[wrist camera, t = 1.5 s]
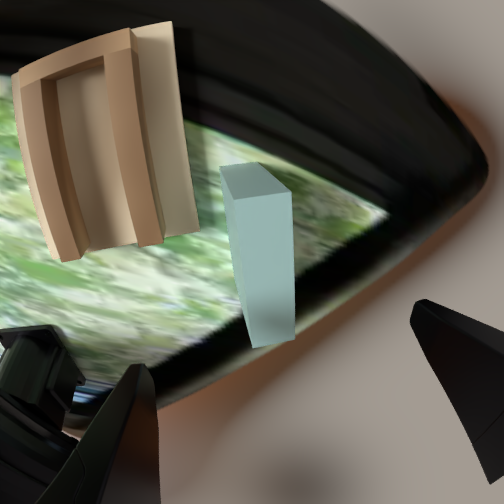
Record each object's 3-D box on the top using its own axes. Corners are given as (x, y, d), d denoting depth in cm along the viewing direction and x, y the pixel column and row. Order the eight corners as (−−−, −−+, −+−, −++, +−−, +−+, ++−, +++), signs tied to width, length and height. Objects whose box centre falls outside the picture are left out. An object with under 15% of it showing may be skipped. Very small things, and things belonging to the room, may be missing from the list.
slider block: (234, 279, 18) (252, 348, 13) (218, 166, 15) (233, 199, 10) (266, 273, 19) (294, 339, 13) (256, 161, 15) (291, 191, 10)
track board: (58, 251, 15) (41, 275, 13) (20, 76, 10) (-7, 74, 7) (199, 224, 16) (200, 246, 14) (172, 26, 11) (168, 9, 9)
